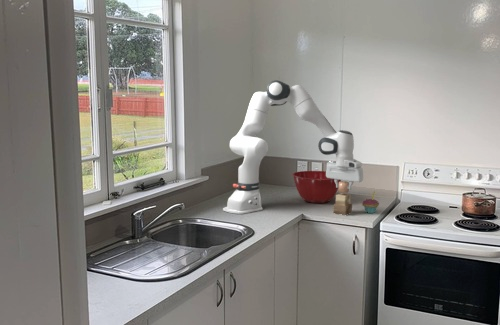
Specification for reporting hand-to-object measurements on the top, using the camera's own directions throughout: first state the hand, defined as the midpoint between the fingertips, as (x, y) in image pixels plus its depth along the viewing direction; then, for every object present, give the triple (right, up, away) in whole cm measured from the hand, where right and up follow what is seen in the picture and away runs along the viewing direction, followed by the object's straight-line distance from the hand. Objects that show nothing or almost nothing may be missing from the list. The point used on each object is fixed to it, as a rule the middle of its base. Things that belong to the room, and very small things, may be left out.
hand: (343, 188), depth 268 cm
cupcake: (+15, -13, +4) cm, 20 cm away
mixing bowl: (-10, -9, +30) cm, 33 cm away
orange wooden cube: (0, -2, 0) cm, 2 cm away
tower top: (0, -8, +1) cm, 8 cm away
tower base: (0, -13, +2) cm, 13 cm away
